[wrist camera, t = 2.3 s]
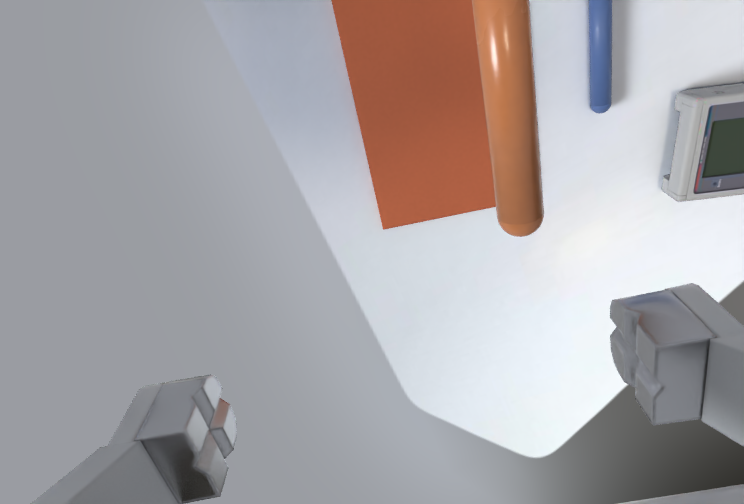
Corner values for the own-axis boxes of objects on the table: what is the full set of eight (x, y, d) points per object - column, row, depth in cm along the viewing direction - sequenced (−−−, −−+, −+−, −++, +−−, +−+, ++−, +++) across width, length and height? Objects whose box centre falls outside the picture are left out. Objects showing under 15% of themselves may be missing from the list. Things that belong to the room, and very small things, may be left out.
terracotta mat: (383, 227, 49) (383, 229, 48) (330, -5, 39) (330, -5, 39) (531, 196, 48) (533, 199, 47) (513, -49, 38) (516, -49, 38)
